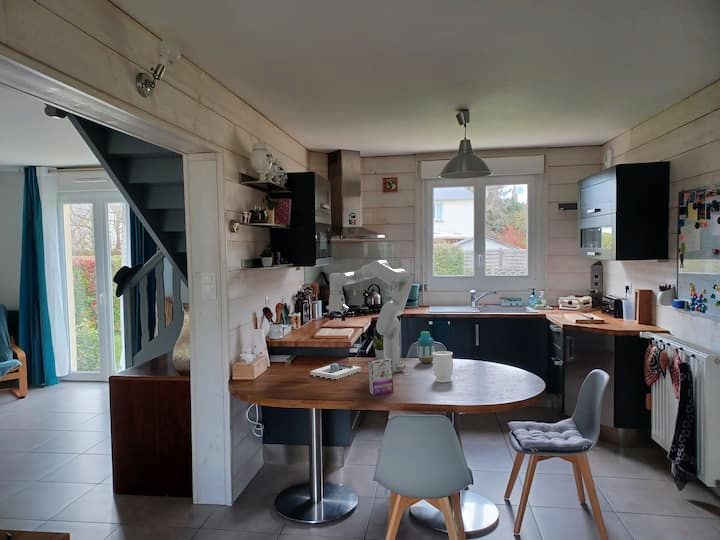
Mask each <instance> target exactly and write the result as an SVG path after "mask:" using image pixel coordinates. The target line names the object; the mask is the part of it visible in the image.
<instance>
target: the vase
mask: <svg viewBox="0 0 720 540" xmlns="http://www.w3.org/2000/svg"><path fill="white" fill-rule="evenodd" d="M416 348H417V352H416V353H417V358H418V361H419V362H421V363H423V364H430V363H433V357H434V356H433V355H432V353H433V352H436V351H435V349H436V347H435V340H434V338H432V337H431V333H430V331H425V330H424V331H421V332H420V337H419V338H418V339H417V345H416Z"/></svg>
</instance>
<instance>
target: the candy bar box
mask: <svg viewBox="0 0 720 540" xmlns="http://www.w3.org/2000/svg"><path fill="white" fill-rule="evenodd" d="M367 364H368V365H367V367H368V381H369V393H370V394H371V395H373V396H378V395H383V394H389V393H393V392H394V379H393V377H394V376H393V372H392V360H391V359H389V358H385V359H372V360H368V361H367Z"/></svg>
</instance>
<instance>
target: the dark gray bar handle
mask: <svg viewBox="0 0 720 540" xmlns="http://www.w3.org/2000/svg"><path fill="white" fill-rule="evenodd" d="M332 364H338V366H343V367H349V368H353V366H354V365H353V364H344V363H338V362H333V363H332Z"/></svg>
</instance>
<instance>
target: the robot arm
mask: <svg viewBox="0 0 720 540" xmlns="http://www.w3.org/2000/svg"><path fill="white" fill-rule="evenodd" d="M328 275H329V276H328V277H329V279H328V280H329V297H328V305H326V306H325V308H326V311H327V312H328V313H327V314H329V320H330V321H334V316H335V315H334V312H340V313H341V314H340V318H341V322H345V321H346V314H347V313H348V310H349V307H348V306H347V305H346V301H345V296H344V291H343V286H347V285H354V284H356V283H359V282H362V281H367V280H369V279H373V278H377V279H379V280H381V281H383V282H384V283H386V284H388V285H392V286H393V285H397V286H396V287H395V290H394V291H393V294H392V298H391V300H388V301H386V302H384V304H383V305H382V307H381V309H380V312H379V315H378V317H377V321H376V324H375V328H376V331H377V333H378V334H379V335H380V336H383V337H382V338H383V339H382V342H383V345H384V359H385V358H389V359H391V360H392V373H399V372H403V371H404V370H405V369H406V365H405V364H403V362H401V347H400V346H401V345H400V343H401V340H400V336H401V335H400V333H401V322H400V320H399V318H398V316H399V317H400V316H401V315H402V314H403V313H404V310H405V308H406V304H407V301H408V298H409V296H410V292H411V290H412V286H413V285H412V284H413V279H412V276H411V274H410V273H409V272H408V271H407V270H405V269H403V268H395V269H393V268H391V267H390V264H389V262H388V261H387V260H384V259H379V260H374V261H373V260H372V262H371V263H368V264H365V265H362V267H361V268H360V269H357V270H353V271H347V272H333V273H330V274H328Z"/></svg>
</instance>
